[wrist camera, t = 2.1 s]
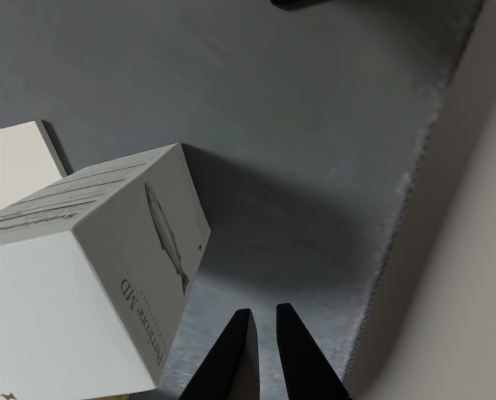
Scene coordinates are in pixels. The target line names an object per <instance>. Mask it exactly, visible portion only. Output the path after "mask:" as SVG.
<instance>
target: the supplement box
mask: <svg viewBox="0 0 496 400" xmlns="http://www.w3.org/2000/svg"><path fill="white" fill-rule="evenodd" d="M210 233H211V230H210V227H209V225H208V223H207V220H206V218H205V215H204V212H203V210H202V207H201V204H200V202H199V199H198V196H197V193H196V190H195V187H194V184H193V181H192V178H191V175H190V172H189V169H188V166H187V163H186V159H185V156H184V153H183V149H182V146H181V143H175V144H172V145H168V146H164V147H161V148H157V149H153V150H149V151H145V152H142V153H138V154H134V155H130V156H126V157H122V158H118V159H114V160H110V161H107V162H103V163H99V164H95V165H92V166H88V167H86V168H83V169H81V170H79V171H77V172H75V173H73V174H71V175H69V176H67V177H65V178H63V179H61V180H58V181H57V182H55V183H53V184H51V185H49V186H47V187H45V188H43V189H41V190H39V191H37V192H35V193H33V194H31V195H29V196H27V197H25V198H23V199H21V200H19V201H17V202H15V203H13V204H11V205H9V206H7V207H5V208H3V209H1V210H0V400H82V399H91V398H98V397H105V396H112V395H120V394H127V393H136V392H142V391H147V390H152V389H155V388H157V386H158V384H159V380H160V377H161V374H162V372H163V369H164V366H165V363H166V360H167V357H168V354H169V351H170V348H171V346H172V343H173V340H174V337H175V334H176V331H177V328H178V325H179V322H180V320H181V317H182V314H183V311H184V308H185V305H186V302H187V300H188V297H189V294H190V291H191V288H192V285H193V282H194V280H195V277H196V274H197V271H198V268H199V265H200V262H201V260H202V257H203V254H204V251H205V248H206V245H207V242H208V239H209V236H210Z"/></svg>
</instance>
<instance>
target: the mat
mask: <svg viewBox="0 0 496 400" xmlns="http://www.w3.org/2000/svg"><path fill="white" fill-rule="evenodd" d="M65 177H67V174H66V172H65V169H64V167H63V165H62V163H61V161H60V159H59V157H58V155H57V153H56V151H55V148H54V146H53V144H52V142H51V140H50V138H49V136H48V134H47V132H46V129H45V127H44V125H43V123H42V121H41V120H37V121H33V122H28V123H24V124H20V125H16V126H12V127H8V128H4V129H0V210H1V209H3V208H5V207H7V206H9V205H11V204H13V203H15V202H17V201H19V200H21V199H23V198H25V197H27V196H29V195H31V194H33V193H35V192H37V191H39V190H41V189H43V188H45V187H47V186H49V185H51V184H53V183H55V182H57V181H58V180H61V179H63V178H65Z"/></svg>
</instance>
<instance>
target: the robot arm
mask: <svg viewBox="0 0 496 400" xmlns="http://www.w3.org/2000/svg"><path fill="white" fill-rule="evenodd" d="M270 1H271V3H272V4H273V5H274V6H276V7H277V6H283V5H287V4H291V3H295V2H298V1H302V0H270ZM276 335H277V344H278V349H279V354H280V359H281V364H282V368H283V373H284V378H285V383H286V388H287V393H288V398H289V400H353V399H352V398H350V395H349V393H348V392H347V390H346V388H345V387H344V385H343V384H342V382H341V381H340V379H339V378H338V376H337V375H336V373H335V372H334V370H333V368H332V367H331V365H330V364H329V362H328V361H327V359H326V358H325V356H324V355H323V353H322V351H321V350H320V348H319V347H318V345H317V344H316V342H315V341H314V339H313V338H312V336H311V334H310V333H309V331H308V330H307V328H306V327H305V325H304V324H303V322H302V321H301V319H300V317H299V316H298V314H297V313H296V311H295V310H294V308H293V307H292V305H291V304H290V303H284V304H278V305H277V306H276ZM178 400H260V376H259V356H258V336H257V329H256V325H255V322H254V318H253V314H252V311H251V309H249V308H247V309H239V310H237V311H236V312H235V314H234V315H233V317H232V318H231V320H230V321H229V323H228V324H227V326H226V327H225V329H224V330H223V332H222V333H221V335H220V336H219V338H218V339H217V341H216V342H215V344H214V345H213V347H212V348H211V350H210V352H209V353H208V355H207V356H206V358H205V359H204V361H203V362H202V364H201V365H200V367H199V368H198V370H197V371H196V373H195V374H194V376H193V377H192V379H191V380H190V382H189V383H188V385H187V386H186V388H185V389H184V391H183V392H182V394H181V395H180V397H179V398H178Z"/></svg>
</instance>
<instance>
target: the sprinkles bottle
mask: <svg viewBox="0 0 496 400" xmlns="http://www.w3.org/2000/svg"><path fill="white" fill-rule="evenodd" d="M129 395H130V393H127V394H120V395H112V396H105V397H98V398H91V399H82V400H127V399H128V398H129Z"/></svg>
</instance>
